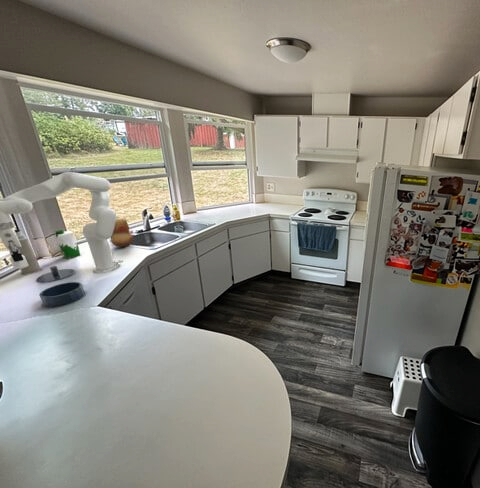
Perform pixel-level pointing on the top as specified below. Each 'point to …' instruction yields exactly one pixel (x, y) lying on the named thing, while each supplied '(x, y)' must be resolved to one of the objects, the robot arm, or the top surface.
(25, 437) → the top surface
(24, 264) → the pepper shaker
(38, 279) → the lid
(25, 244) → the thermos bottle
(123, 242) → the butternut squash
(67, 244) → the milk carton
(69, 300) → the pot
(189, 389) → the top surface
